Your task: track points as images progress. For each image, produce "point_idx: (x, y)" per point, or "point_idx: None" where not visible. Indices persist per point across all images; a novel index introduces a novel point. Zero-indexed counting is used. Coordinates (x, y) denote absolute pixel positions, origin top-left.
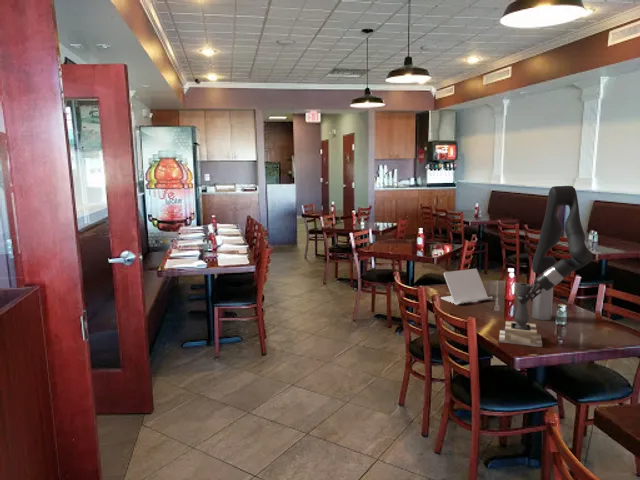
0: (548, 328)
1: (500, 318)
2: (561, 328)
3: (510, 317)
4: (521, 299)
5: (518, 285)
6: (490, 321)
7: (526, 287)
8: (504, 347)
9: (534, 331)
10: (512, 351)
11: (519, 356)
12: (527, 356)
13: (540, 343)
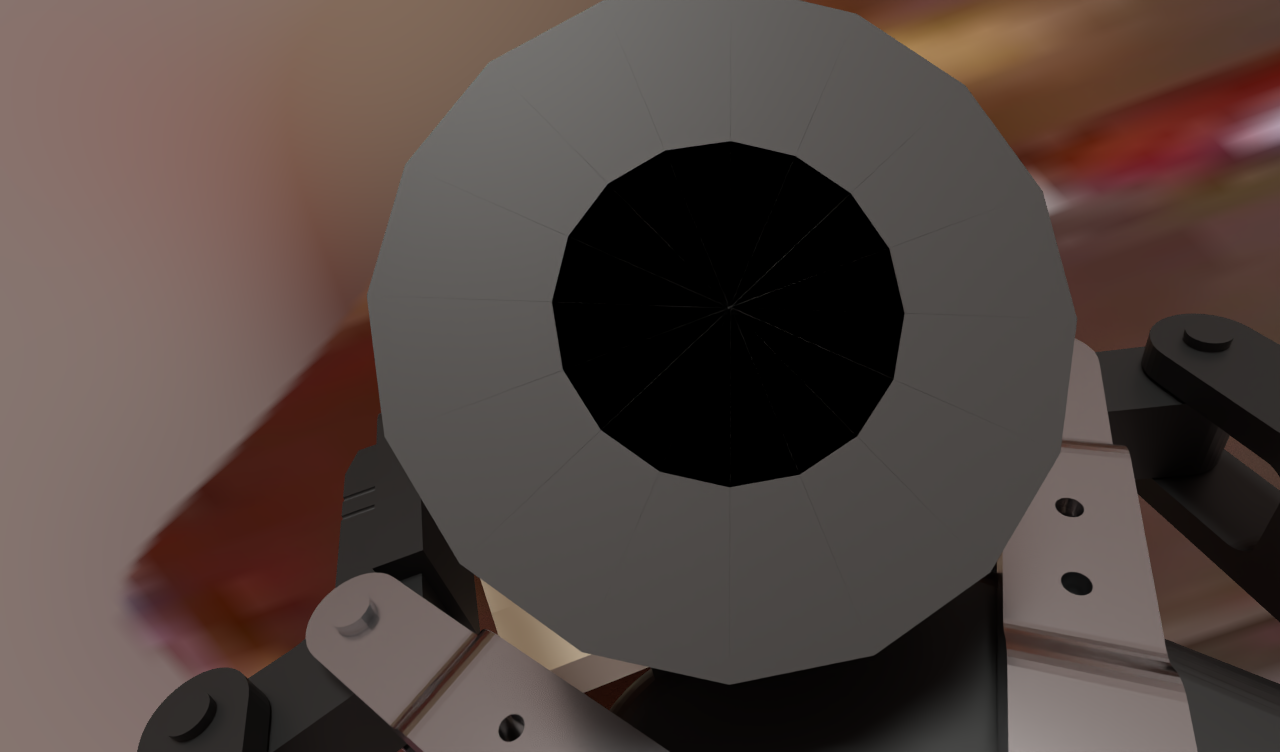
0: (1157, 562)
1: (1106, 78)
2: (1257, 672)
3: (1209, 143)
4: (383, 450)
5: (436, 132)
6: (947, 37)
7: (468, 558)
8: (305, 406)
9: (557, 637)
10: (244, 505)
11: (149, 607)
12: (197, 670)
13: (569, 681)
